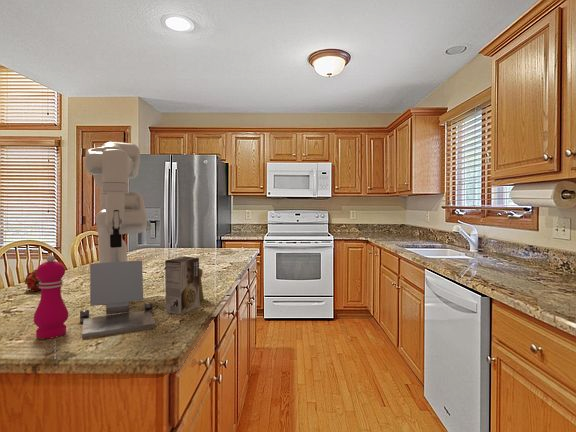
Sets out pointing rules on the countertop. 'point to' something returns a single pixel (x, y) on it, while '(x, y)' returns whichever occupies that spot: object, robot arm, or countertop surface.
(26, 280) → the dragon fruit
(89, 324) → the hinge base
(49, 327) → the pepper mill
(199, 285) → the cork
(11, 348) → the countertop surface
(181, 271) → the coffee box
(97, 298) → the panel
